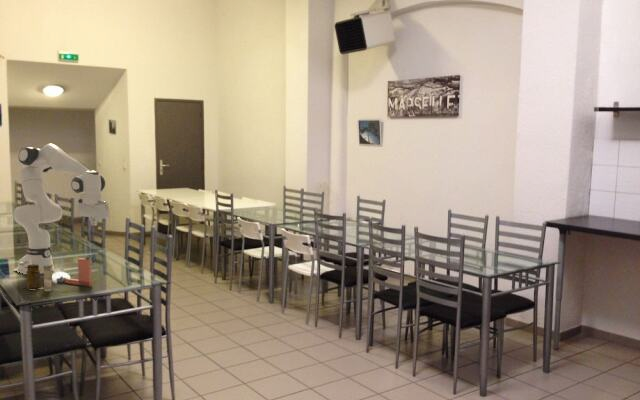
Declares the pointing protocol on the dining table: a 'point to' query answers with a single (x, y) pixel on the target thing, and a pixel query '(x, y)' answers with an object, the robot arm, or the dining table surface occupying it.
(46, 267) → the latch post
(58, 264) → the dining table surface
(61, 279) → the pivot base
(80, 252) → the dining table surface
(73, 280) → the red l-shaped bracket
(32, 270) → the condiment
